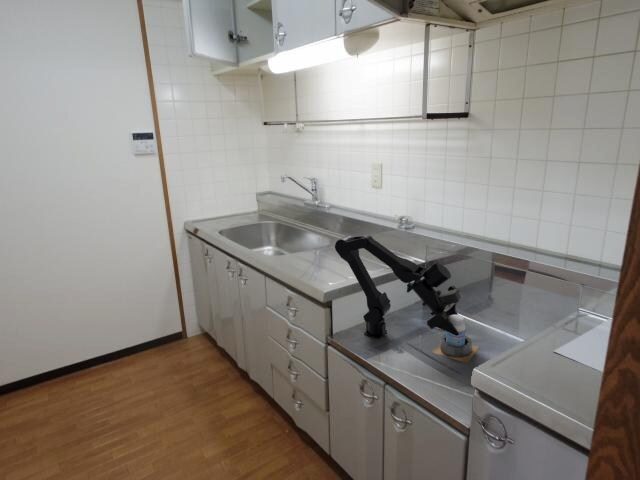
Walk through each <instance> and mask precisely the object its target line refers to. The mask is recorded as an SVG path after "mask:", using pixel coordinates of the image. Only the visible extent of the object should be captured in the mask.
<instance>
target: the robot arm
mask: <svg viewBox="0 0 640 480" xmlns="http://www.w3.org/2000/svg"><path fill="white" fill-rule="evenodd" d="M362 249H364V250H366V251H367V252H368V253H370V254H371V255H372V256H373V257H375V258H376V259H378V260H379V261H380V262H382V263H384V264H385V265H386V266H387V267H388V268H390V269H391V270H392V272H393V274H394V275H395V277H397V279H399V280H400V281H401V282H402V283H404V284H406V293H408V294H409V293H411V291H413V292H414V293H415V294H416V295H417V297H418V298H419V299H420V300H421V301H422V304H421V305H422V306H423V307H425V306H426V308H427V309H429V310H430V313H429V314H431V316H430V317H429V318H428V319H427V320H426V326H427V327H428V328H429V329H430V330H433V329H434V327H435V329H436V327H437V328H440V329H442V331H445V332H446V331H447V332H449V333H451V334H454V335H456V336H457V335H459V333H458V331H457V330H456V328H455V327H454V325H453V324H452V323H451V321H450V316H451V315H459V314H458V311H457V306H458V303H459V302H460V299H462V297H461V294H460V292H461V291H460V289H458V287H456V286H454V284H452V285H449V286H448V288H447V290H445V291H444V292H442V291H441V290H439V289H437V290H436V289H435V288H439V287H440V286H441V285H442V284H445V282H447V281H448V280H450V279H451V277H452V274H451V272H450V271H449V269H448V268H447V267H446V266H444V265H443V264H441V263H439V262H438V261H435V262H434V263H433V264H432V265H431V266H430V267H428V268H426V267H422V266H419V265H417V264H416V263H415V262H413V261H411V260H409V259H406V258H403V257H400V256H398V255H396V254H395V253H394V252H393V251H391V250H390V249H389V248H387V247H385V246H384V245H383V244H381V243H380V242H379V241H377V240H375V239H374V238H373V236H371V235H369V234H365V235H358V236H351V235H345V236H344V237H342V238H339V239H338V240H336V242H335V243H334V250H335V251H336V253H337V254H338V256H340V258H341V259H342V260H344V261H345V262H347V264H348V265H349V268H350V269H351V271H352V273H353V275H354V276H355V278H356V279H355V280H356V281H357V282H358V284H359V286H360V288H361V290H362V291H363V293H364V295H365V298H366V306H367V309H368V311H367V312H366V313H365V314H363V320H364V322H365V331H363V334H364V335H366V336H368V337H372V338H375V339H380V338H381V337H382V336H384V335H385V334H386V333H388V330H387V328H386V327H387V325H386V321H385V317H384V316H385V315H386V314H387V313H388V312H389V311H390V309H391V300H390V299H389V296H388V295H387V292H386V291H384V292H380V291H379V289H378V288H377V286H376V284H375V282H374V281H373V279H372V277H371V275H370V274H369V271H368V270H367V268H366V266H365V265H364V262H363V260H362V258H361V257H360V256H361V255H360V250H362ZM440 329H439V330H440Z"/></svg>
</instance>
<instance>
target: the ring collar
mask: <svg viewBox="0 0 640 480" xmlns="http://www.w3.org/2000/svg"><path fill="white" fill-rule="evenodd" d="M439 344H440V349H441V352H443V353H444V354H445V355H448V356H451V357H456V358H463V357H467V356H469V355H470V354H471V353H472V345H473V341H472V339H471V338H470V337H469V336H468V335H465V345H464V346H453V345H450V344H448V343H446V334H442V336H441V337H439Z"/></svg>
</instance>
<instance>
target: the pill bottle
mask: <svg viewBox="0 0 640 480" xmlns="http://www.w3.org/2000/svg"><path fill="white" fill-rule="evenodd" d="M450 321H451V323H452V324H453V325H454V327H455V328H456V330H457V331H458V333H459V335H457V336H456V335H454V334H451V333H449V332H447V331H445V332H446V343H448V344H450V345H453V346H464V345H465V336H466V331H467V330H466V328H467V327H466V324H465V317H464V316H463V315H460V314H458V315H451V316H450Z"/></svg>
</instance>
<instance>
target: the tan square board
mask: <svg viewBox="0 0 640 480" xmlns="http://www.w3.org/2000/svg"><path fill="white" fill-rule="evenodd" d="M479 349H480V346H477V345H473V344H472V353H471V354H470V355H469V356H467V357H463V358H456V357H451V356H448V355H445V354H444V353H443V352H441V349H440V343H439V344H438V345H437V346H436V347H435V348H434V349H433V350H432V351H431V353H432V354H435V355H438V356H442V357H444V358H445V357H446V358H449V359H452V360H455V361H458V362H461V363H465V364H468V363H469V362H470V361H471V359H473V356H475V354H476V352H478V350H479Z"/></svg>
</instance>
